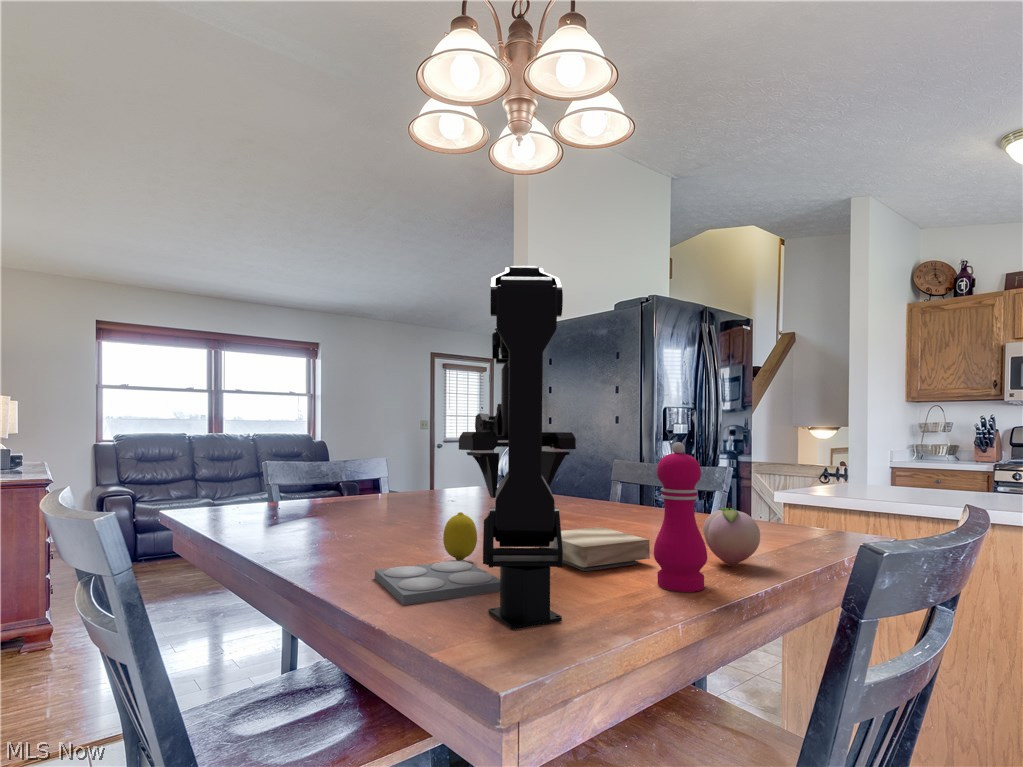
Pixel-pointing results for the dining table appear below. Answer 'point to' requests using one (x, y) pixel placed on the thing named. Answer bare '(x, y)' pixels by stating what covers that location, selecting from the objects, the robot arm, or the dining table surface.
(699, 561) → the pepper mill
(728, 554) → the decorative fruit
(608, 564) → the grey dotted plate
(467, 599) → the dining table surface
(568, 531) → the cover
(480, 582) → the board
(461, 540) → the lemon
